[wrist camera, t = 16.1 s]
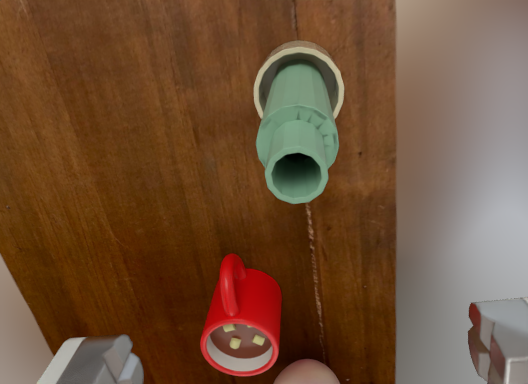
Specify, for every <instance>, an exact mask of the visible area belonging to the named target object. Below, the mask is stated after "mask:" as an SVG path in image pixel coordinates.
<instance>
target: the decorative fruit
mask: <svg viewBox="0 0 528 384" xmlns="http://www.w3.org/2000/svg"><path fill="white" fill-rule="evenodd" d="M274 384H340V383H339V381H338V379H337V377H336V376H335V374H334V373H333V372H332V370H330V369H329V368H328V367H327V366H326V365H325V364H323V363H321V362H319V361H316V360H313V359H301V360H298V361H295V362H294V363H292V364H290V365H289V366H287V367H286V368H285V369H284V370H283V371H282V372H281V373H280V374H279V375H278V376H277V378H276V379H275V382H274Z"/></svg>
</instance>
